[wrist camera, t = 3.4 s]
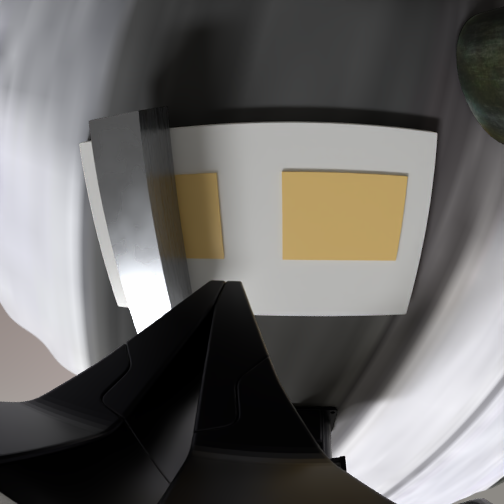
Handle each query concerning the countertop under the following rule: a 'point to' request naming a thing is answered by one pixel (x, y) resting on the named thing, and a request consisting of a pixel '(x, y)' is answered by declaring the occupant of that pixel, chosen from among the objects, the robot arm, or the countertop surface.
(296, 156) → the label panel
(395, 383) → the countertop surface
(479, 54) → the mug
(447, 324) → the countertop surface
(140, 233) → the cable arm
